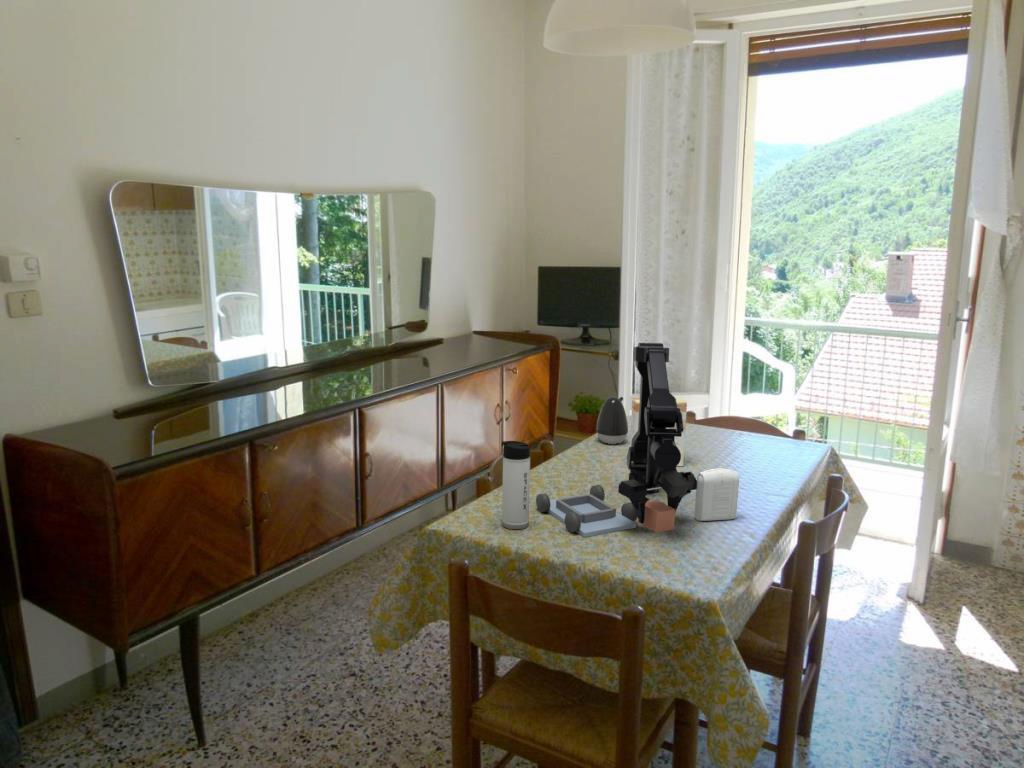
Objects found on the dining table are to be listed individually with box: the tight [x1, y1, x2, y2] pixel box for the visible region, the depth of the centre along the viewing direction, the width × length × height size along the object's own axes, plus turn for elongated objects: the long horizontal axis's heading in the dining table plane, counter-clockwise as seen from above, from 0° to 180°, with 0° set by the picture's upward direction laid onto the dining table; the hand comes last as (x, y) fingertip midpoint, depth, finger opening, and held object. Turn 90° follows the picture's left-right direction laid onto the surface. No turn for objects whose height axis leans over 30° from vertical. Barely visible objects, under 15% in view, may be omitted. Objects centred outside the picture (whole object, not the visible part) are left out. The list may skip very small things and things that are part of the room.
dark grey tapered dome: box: [595, 396, 629, 445], centre depth 246 cm, size 10×10×15 cm
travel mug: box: [501, 440, 531, 530], centre depth 175 cm, size 6×7×20 cm
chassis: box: [535, 484, 638, 538], centre depth 182 cm, size 17×22×4 cm
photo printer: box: [694, 467, 740, 522], centre depth 182 cm, size 10×4×12 cm, turn 103°
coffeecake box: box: [629, 397, 688, 467], centre depth 224 cm, size 15×7×20 cm, turn 92°
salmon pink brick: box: [638, 499, 676, 534], centre depth 177 cm, size 5×7×5 cm
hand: (656, 520), depth 177 cm, fingers open, 8 cm apart
